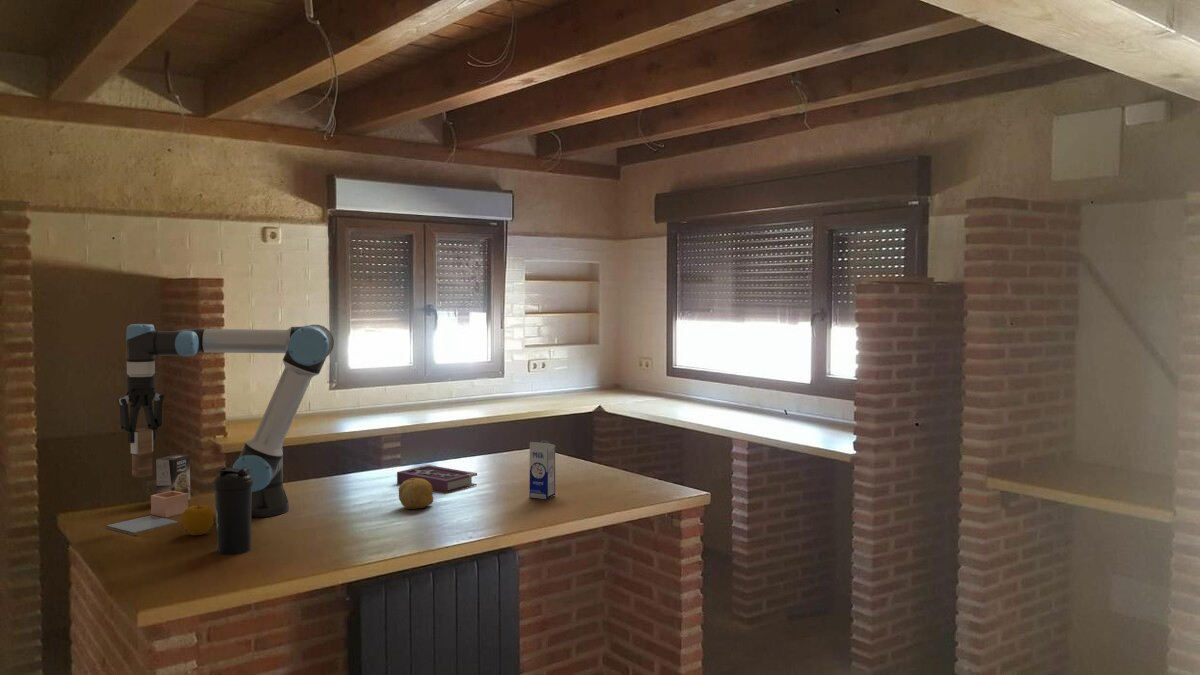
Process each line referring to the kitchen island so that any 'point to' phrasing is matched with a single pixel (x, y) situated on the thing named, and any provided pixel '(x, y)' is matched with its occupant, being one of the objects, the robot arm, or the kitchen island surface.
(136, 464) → the peg
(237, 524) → the water bottle
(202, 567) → the kitchen island surface
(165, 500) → the box with hole
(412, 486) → the potato
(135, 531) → the tile
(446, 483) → the book
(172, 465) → the coffee box
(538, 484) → the milk carton
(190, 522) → the apple
